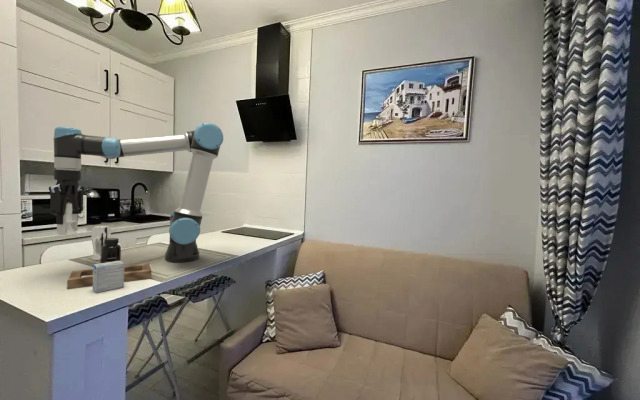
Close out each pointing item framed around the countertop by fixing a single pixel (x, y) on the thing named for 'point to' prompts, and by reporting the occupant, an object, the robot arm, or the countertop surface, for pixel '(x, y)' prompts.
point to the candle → (69, 220)
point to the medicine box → (108, 276)
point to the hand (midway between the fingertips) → (67, 231)
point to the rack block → (130, 274)
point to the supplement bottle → (110, 250)
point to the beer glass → (99, 239)
